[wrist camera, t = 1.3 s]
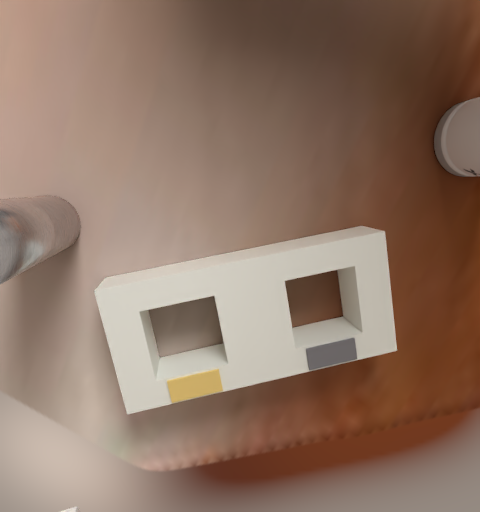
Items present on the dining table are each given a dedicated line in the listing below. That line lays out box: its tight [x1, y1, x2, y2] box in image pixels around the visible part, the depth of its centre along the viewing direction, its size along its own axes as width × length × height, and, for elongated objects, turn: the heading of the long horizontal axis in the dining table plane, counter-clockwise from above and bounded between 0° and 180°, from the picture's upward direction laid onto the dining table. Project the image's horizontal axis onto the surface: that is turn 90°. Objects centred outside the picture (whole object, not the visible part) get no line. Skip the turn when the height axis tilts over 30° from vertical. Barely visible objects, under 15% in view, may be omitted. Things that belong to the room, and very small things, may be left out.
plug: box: [0, 196, 81, 284], centre depth 23 cm, size 4×4×15 cm
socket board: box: [94, 226, 397, 414], centre depth 31 cm, size 10×22×4 cm, turn 100°
